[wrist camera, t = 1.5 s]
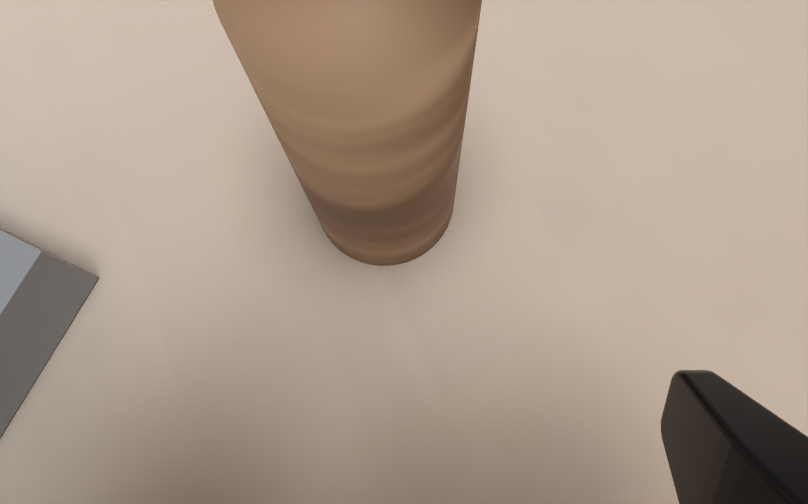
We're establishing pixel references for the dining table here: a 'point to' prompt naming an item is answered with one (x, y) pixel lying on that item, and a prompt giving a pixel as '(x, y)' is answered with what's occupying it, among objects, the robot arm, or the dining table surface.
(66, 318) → the socket block
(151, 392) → the dining table surface
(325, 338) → the dining table surface
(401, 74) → the walnut peg
